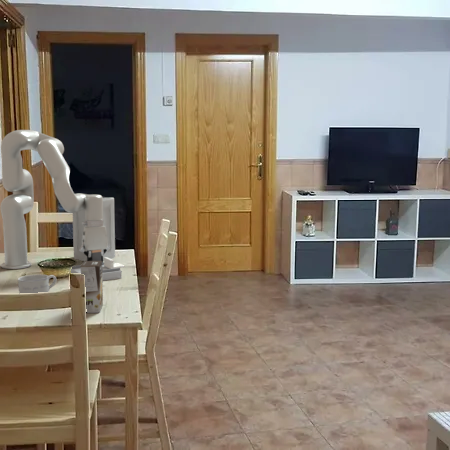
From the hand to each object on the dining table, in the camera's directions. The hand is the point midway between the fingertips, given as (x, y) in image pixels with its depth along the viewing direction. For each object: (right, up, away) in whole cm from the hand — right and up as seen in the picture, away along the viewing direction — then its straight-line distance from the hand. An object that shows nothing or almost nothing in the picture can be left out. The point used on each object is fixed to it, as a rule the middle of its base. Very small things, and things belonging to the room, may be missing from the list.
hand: (95, 264), depth 274 cm
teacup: (-11, -9, -44) cm, 47 cm away
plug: (0, -2, 0) cm, 2 cm away
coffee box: (+11, -12, -58) cm, 60 cm away
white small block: (+10, 0, -8) cm, 13 cm away
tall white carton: (-5, +1, +21) cm, 22 cm away
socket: (+3, -4, -12) cm, 13 cm away
